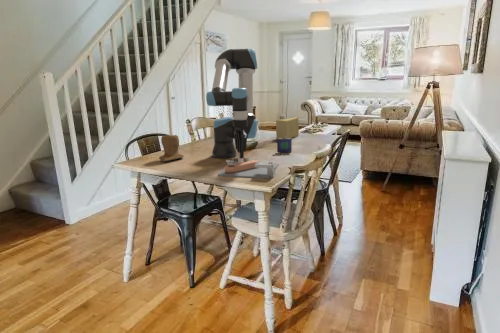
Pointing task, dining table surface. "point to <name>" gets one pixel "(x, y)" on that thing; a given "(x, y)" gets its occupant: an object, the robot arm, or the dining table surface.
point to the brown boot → (170, 148)
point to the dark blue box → (284, 145)
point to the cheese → (287, 128)
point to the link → (240, 166)
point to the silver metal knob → (229, 162)
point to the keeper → (269, 165)
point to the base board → (248, 172)
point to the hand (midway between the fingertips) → (241, 163)
